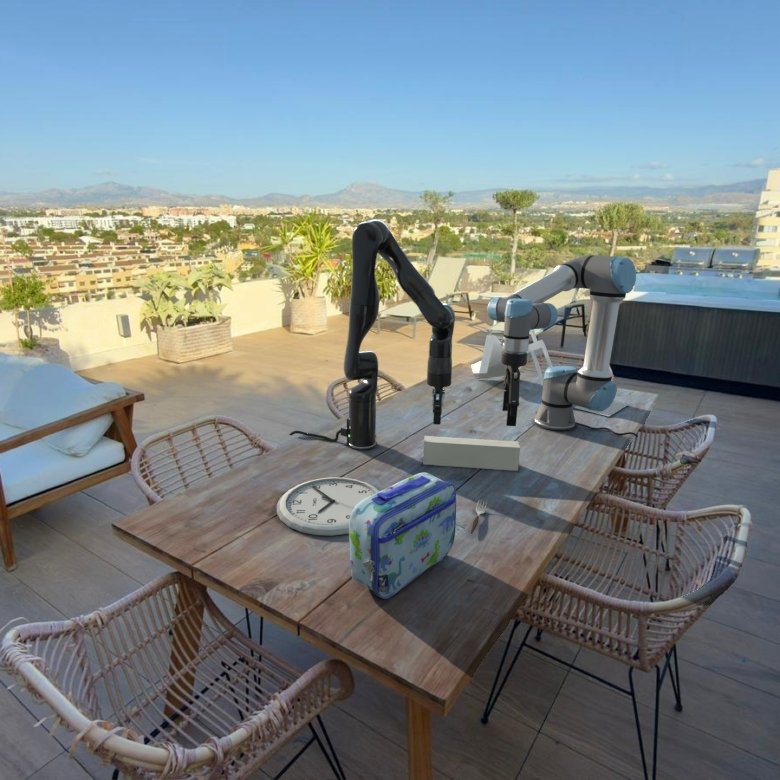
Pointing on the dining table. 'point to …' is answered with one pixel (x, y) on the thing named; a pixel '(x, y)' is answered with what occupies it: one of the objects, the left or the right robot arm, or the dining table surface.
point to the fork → (479, 511)
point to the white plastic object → (493, 354)
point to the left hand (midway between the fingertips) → (437, 419)
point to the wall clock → (323, 505)
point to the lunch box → (401, 532)
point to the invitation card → (609, 411)
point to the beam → (471, 453)
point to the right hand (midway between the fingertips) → (508, 417)
